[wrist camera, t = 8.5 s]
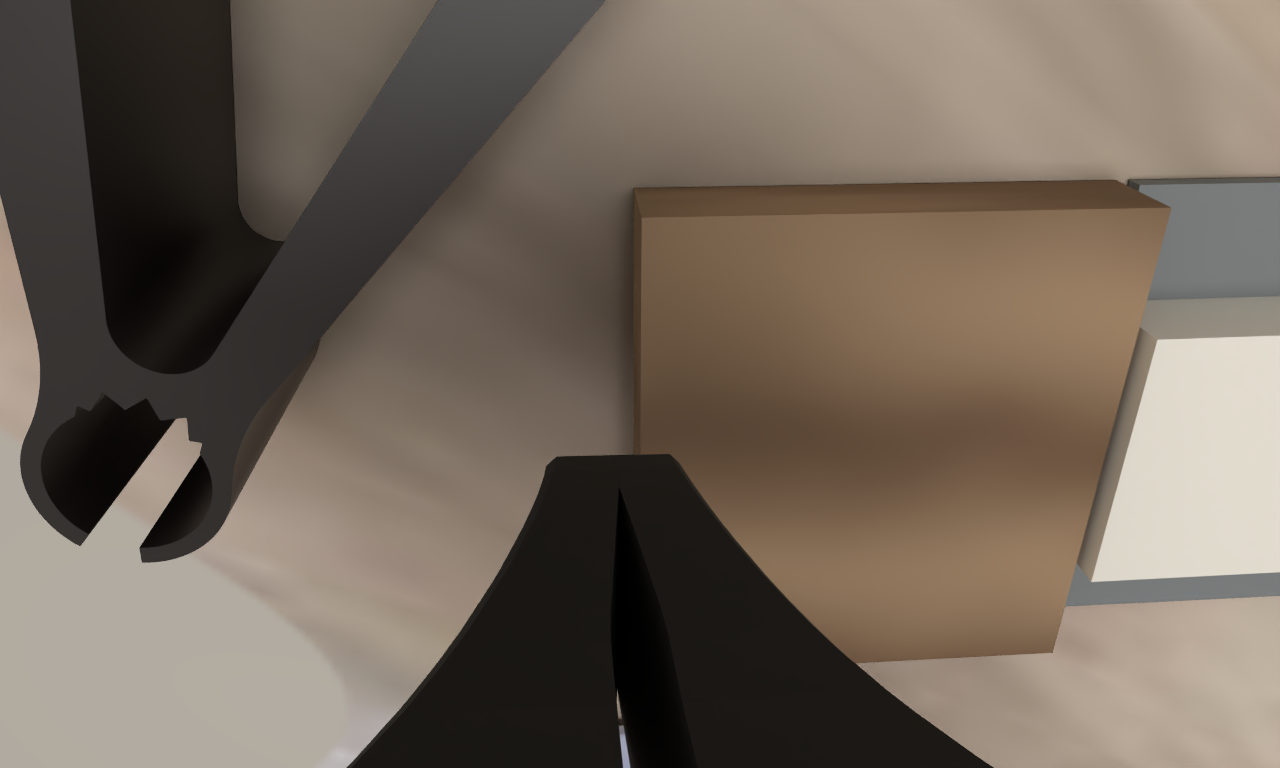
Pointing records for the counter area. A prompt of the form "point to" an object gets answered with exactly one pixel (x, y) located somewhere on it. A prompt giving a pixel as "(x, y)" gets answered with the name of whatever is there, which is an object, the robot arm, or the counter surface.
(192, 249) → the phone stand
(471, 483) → the counter surface
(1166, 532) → the cream rectangular tile
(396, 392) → the counter surface
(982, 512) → the brown block
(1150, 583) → the mat
